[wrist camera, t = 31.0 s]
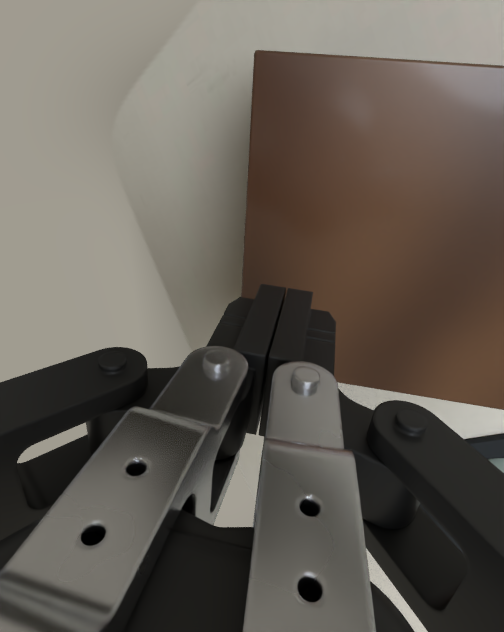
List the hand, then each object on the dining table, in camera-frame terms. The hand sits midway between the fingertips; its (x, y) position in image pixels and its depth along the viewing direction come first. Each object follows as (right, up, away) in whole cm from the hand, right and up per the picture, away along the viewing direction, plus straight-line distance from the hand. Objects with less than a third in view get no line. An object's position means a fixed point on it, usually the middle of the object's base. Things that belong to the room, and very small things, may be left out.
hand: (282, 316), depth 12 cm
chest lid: (+6, +2, +4) cm, 8 cm away
